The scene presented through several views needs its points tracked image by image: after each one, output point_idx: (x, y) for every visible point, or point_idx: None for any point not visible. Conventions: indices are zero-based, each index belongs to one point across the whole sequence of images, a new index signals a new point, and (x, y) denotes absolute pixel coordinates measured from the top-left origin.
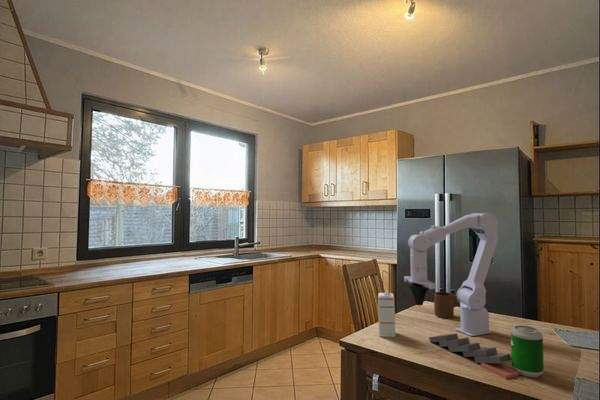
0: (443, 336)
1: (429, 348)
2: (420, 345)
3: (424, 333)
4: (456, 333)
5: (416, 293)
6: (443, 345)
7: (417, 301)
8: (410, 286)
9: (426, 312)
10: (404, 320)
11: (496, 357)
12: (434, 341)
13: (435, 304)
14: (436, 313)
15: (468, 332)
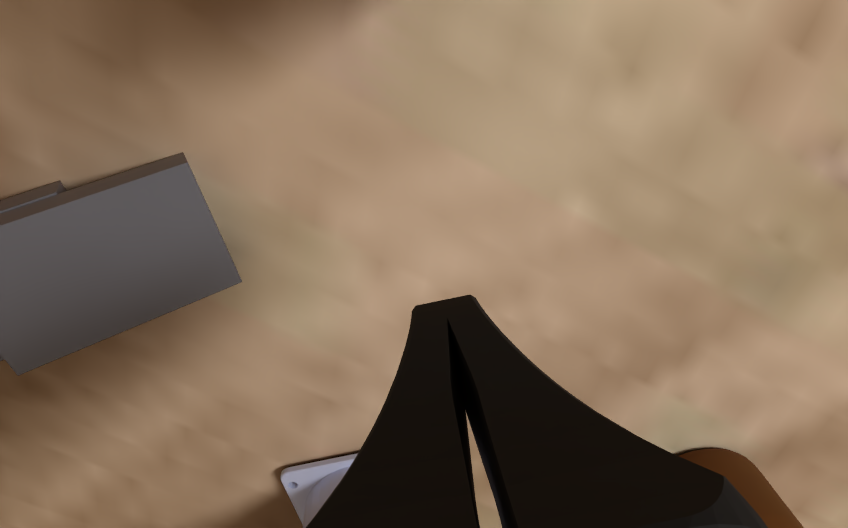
0: None
1: (17, 66)
2: (96, 15)
3: (409, 211)
4: (15, 372)
5: (417, 446)
6: (7, 199)
7: (418, 337)
8: (648, 522)
9: (816, 427)
10: (766, 199)
11: None
12: (121, 174)
13: (768, 523)
14: (716, 464)
15: (326, 477)
